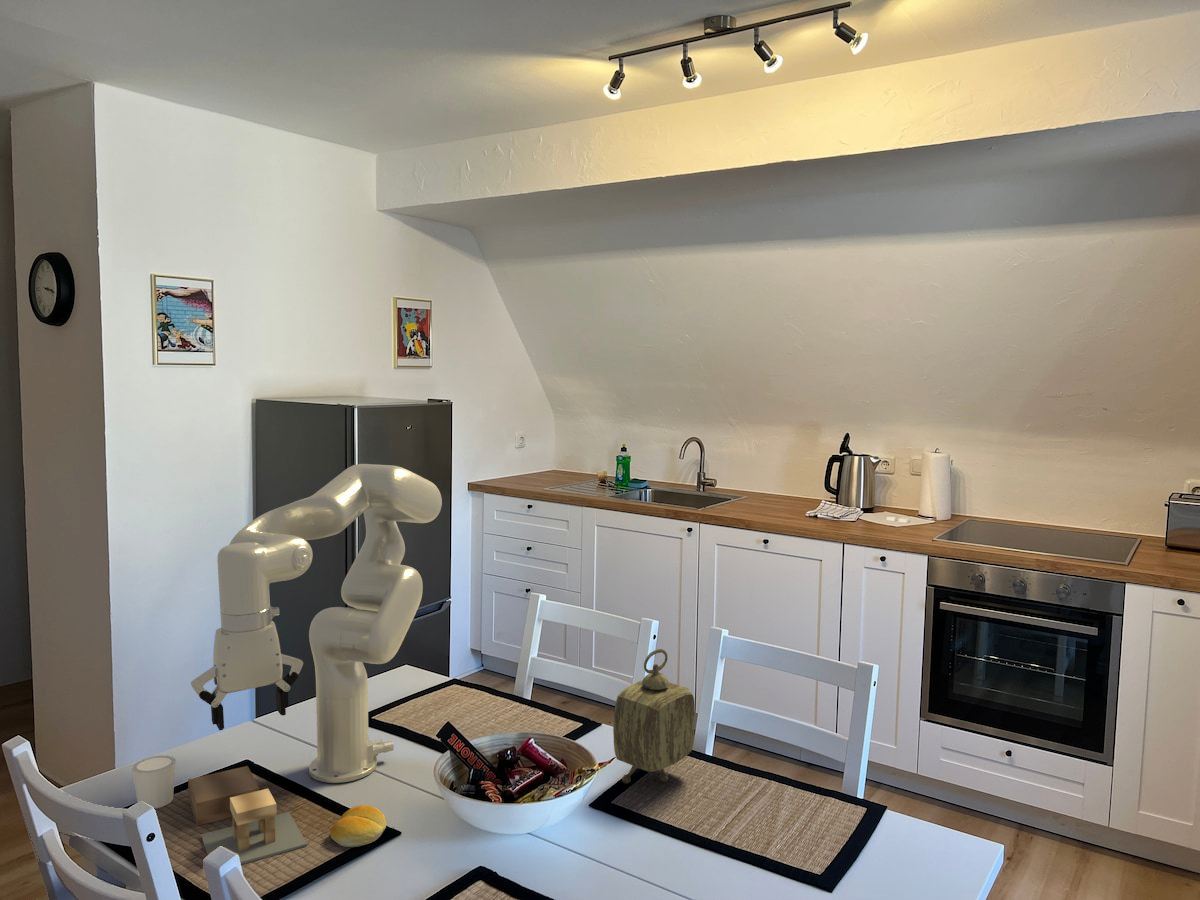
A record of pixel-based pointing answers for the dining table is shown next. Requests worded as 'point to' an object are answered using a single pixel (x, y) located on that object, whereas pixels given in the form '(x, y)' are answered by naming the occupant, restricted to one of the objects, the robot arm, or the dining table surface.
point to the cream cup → (155, 780)
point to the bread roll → (359, 826)
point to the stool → (253, 816)
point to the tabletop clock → (653, 723)
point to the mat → (258, 839)
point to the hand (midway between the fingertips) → (251, 719)
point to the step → (218, 793)
